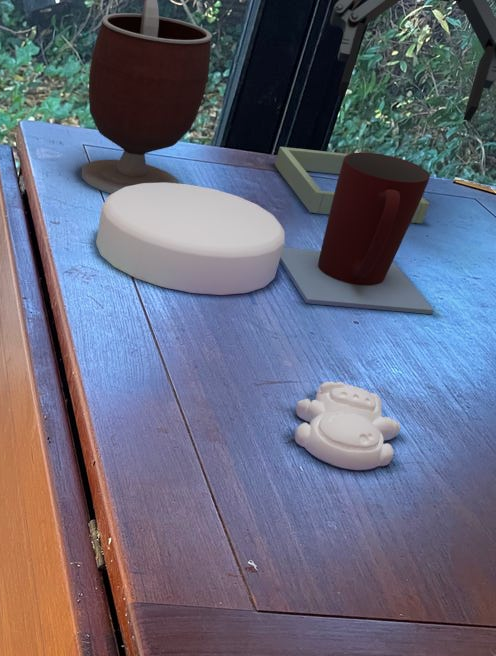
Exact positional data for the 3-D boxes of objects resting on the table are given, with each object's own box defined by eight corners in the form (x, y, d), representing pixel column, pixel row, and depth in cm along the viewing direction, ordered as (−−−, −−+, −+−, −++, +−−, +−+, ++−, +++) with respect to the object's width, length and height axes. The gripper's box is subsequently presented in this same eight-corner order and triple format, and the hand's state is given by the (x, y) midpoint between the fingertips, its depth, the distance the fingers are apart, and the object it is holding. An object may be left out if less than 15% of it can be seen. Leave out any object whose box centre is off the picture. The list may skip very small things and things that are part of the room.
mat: (388, 261, 115) (390, 257, 115) (432, 314, 105) (434, 310, 105) (272, 250, 114) (273, 246, 113) (305, 303, 104) (307, 298, 103)
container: (195, 214, 120) (204, 173, 117) (313, 280, 108) (327, 237, 105) (60, 231, 111) (66, 188, 108) (173, 306, 99) (184, 260, 96)
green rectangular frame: (376, 176, 140) (383, 157, 138) (422, 223, 127) (430, 203, 125) (274, 165, 138) (279, 146, 136) (310, 212, 125) (316, 192, 123)
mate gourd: (193, 205, 122) (235, 18, 109) (81, 195, 120) (111, 3, 107) (170, 164, 133) (205, -11, 120) (68, 154, 132) (92, -25, 118)
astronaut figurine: (402, 417, 87) (415, 386, 85) (384, 482, 79) (398, 449, 77) (304, 388, 89) (315, 357, 87) (277, 449, 81) (288, 416, 79)
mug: (401, 306, 105) (443, 198, 97) (318, 292, 105) (353, 183, 97) (384, 262, 114) (421, 160, 106) (307, 250, 114) (339, 147, 106)
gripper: (565, -47, 109) (512, 142, 109) (337, -85, 112) (286, 98, 112) (595, -99, 101) (538, 104, 102) (350, -138, 105) (296, 59, 105)
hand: (406, 101), depth 107 cm, fingers open, 13 cm apart
